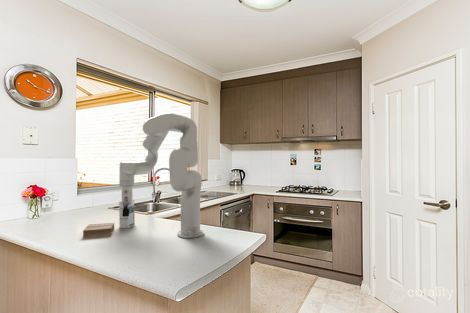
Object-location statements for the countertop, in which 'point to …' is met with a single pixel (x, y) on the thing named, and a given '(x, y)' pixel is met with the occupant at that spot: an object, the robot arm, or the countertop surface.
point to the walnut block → (98, 230)
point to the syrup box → (127, 220)
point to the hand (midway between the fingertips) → (126, 214)
